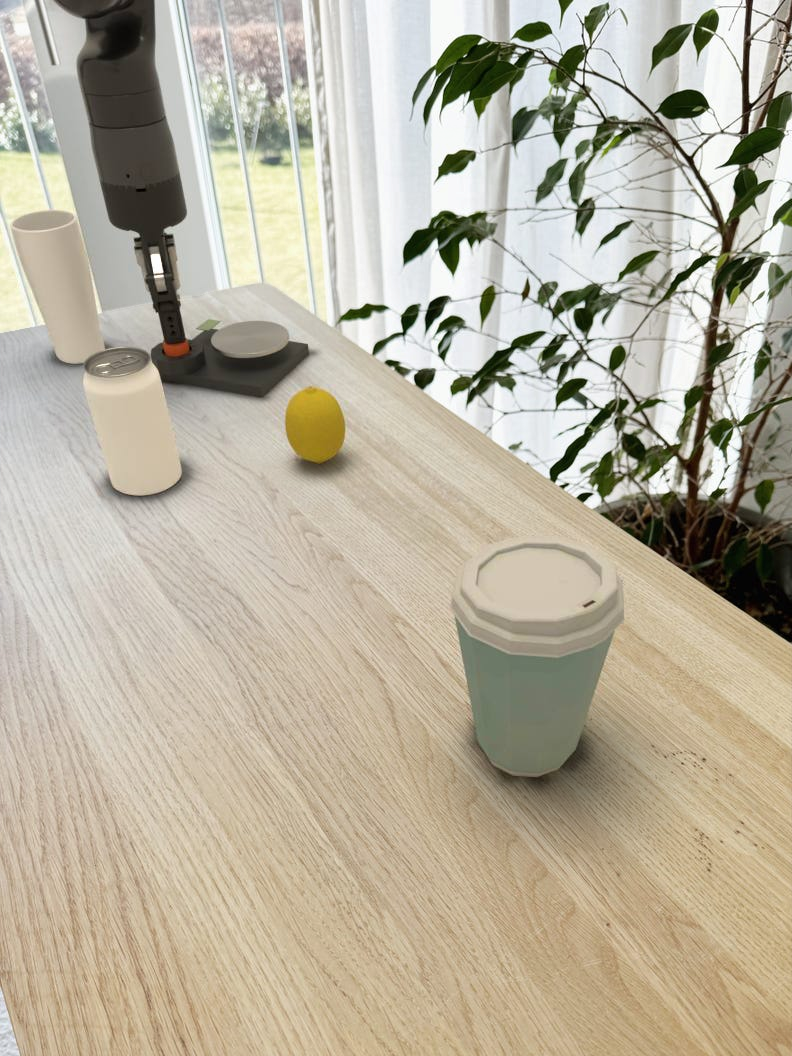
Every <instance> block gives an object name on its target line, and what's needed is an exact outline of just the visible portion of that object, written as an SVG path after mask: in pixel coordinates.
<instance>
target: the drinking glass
mask: <svg viewBox="0 0 792 1056" xmlns="http://www.w3.org/2000/svg"><path fill="white" fill-rule="evenodd" d="M77 217H78V216H76V214H75V213H73V212H71V211H68V210H63V209H44V210H43V209H42V210H36V211H31V212H27V213H24V214H21V215H19V216H17V217H15V218H13V220H11V222H10V224H9V226H10V230H11V235H12V238H13V242H14V246H15V251H16V253H17V256H18V259H19V262H20V265H21V268H22V270H23V272H24V276H25V277H26V280H27V283H28V285H29V287H30V290H31V293H32V295H33V297H34V300H35V303H36V305H37V307H38V310H39V313H40V315H41V317H42V320H43V323H44V325H45V327H46V329H47V333H48V336H49V338H50V339H51V340H50V341H51V344H52V346H53V350H54V354H55V355H56V357H57V358H58V360H60V362H63V363H66V364H72V365H76V364H77V365H78V364H84V362H85V360H86V359H87V358H88V357H90V356H91V355H93V354H95V353H97V352H99V351H102V350H106V345H105V342H104V337H103V334H102V330H101V324H100V319H99V313H98V308H97V302H96V297H95V291H94V285H93V279H92V273H91V268H90V262H89V257H88V252H87V248H86V245H85V240H84V236H83V233H82V230H81V227H80V224H79V220H78V218H77Z"/></svg>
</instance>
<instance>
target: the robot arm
mask: <svg viewBox="0 0 792 1056" xmlns="http://www.w3.org/2000/svg"><path fill="white" fill-rule="evenodd" d="M52 1H53V2H54V4H56V5H57V6H58V7H59V8H60V9H62V10H63V11H64V12H66V13H67V14H69V15H71V16H73V17H75V18H78V19H82V20H84V24H85V41H84V44H83V45H82V48H81V49H80V51H79V52H78V55H77V57H76V62H75V64H76V65H75V67H76V74H77V79H78V85H79V89H80V93H81V97H82V102H83V106H84V110H85V114H86V118H87V121H88V122H87V123H88V128H89V134H90V135H89V136H90V144H91V151H92V155H93V159H94V163H95V167H96V171H97V175H98V180H99V185H100V188H101V192H102V197H103V201H104V205H105V208H106V214H107V217H108V220H109V223H110V224H111V225H112V226H113V227H115V228H116V229H119V230H120V231H121V230H122V231H125V232H129V231H131V232H135V233H137V234H138V235H139V236H134V237H132V238H133V244H134V246H133V250H134V255H135V259H136V263H137V265H138V266H139V267H140V269H141V274H142V277H143V283H144V286H145V290H146V291H147V292H148V293H149V294H150V298H151V301H152V309H153V310H154V312H155V314H158V319H159V324H160V329H161V333H162V337H163V340H164V341H165V343H166V344H177V343H183V342H185V337H186V332H185V327H184V323H183V317H182V313H181V306H182V302H181V296H180V293H179V292H178V290H179V289H180V288H181V282H180V274H179V273H180V272H179V268H178V254H177V246H176V241H175V236H174V233H167V232H165V230H167V229H168V228H173V227H175V226H178V225H179V224H181V223H182V222H183V221H185V219H186V218H187V215H188V208H187V204H186V198H185V193H184V187H183V183H182V178H181V172H180V171H181V170H180V167H179V166H180V165H179V161H178V157H177V151H176V146H175V141H174V137H173V135H172V130H171V128H170V125H169V122H168V118H167V114H166V113H167V112H166V107H165V103H164V97H163V93H162V87H161V82H160V78H159V74H158V69H157V64H156V43H157V42H156V40H157V38H156V37H157V33H156V0H52Z"/></svg>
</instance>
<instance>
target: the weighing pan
mask: <svg viewBox="0 0 792 1056" xmlns="http://www.w3.org/2000/svg"><path fill="white" fill-rule="evenodd" d="M220 323H221V320H217V319H211V318H208V319H206V320H205V321H203V322H202V323H201V324H200V325H198V326H197V327H196V328H195V329H196V330H199V331H209V330H211V329H214V328H215V327H216V326H217V325H219V324H220ZM289 341H290V332H289V331H288V329H287V328H286V327H285V326H283V325H281V324H279V323H276V322H272V321H267V320H247V321H239V322H234V323H232V324H231V323H230V324H228V325H226V326H224V327H222V328H220V329H218V331H217V332H215V333H214V335H213V336H212V338H211V344H212V348H213V349H214V350H215V351H216V352H217V353H219V354H221V355H224V356H228V357H233V358H254V357H261V356H265V355H269V354H272V353H274V352H277V351H279V350H280V349H282V348H283V347H285V346H286V345H287V343H288V342H289Z"/></svg>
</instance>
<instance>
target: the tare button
mask: <svg viewBox="0 0 792 1056" xmlns="http://www.w3.org/2000/svg"><path fill="white" fill-rule="evenodd" d="M187 339H188V338H187V337H186V336H185V342H183V343H177V344H166V343H165V341H164V339H163V340H162V342H163V347H164V351H165V356H171V357H176V356H182V355H185V354H188V353H189V352H190V350H189V345H188V340H187Z"/></svg>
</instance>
